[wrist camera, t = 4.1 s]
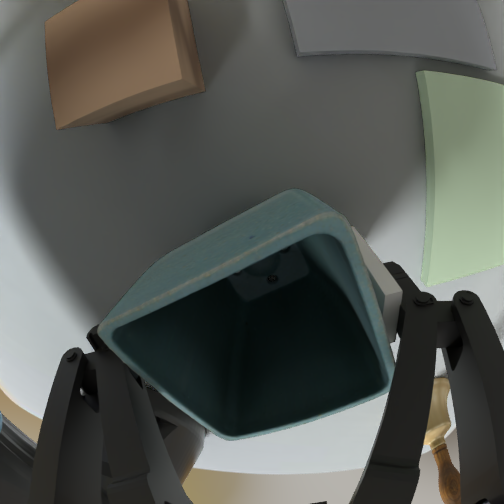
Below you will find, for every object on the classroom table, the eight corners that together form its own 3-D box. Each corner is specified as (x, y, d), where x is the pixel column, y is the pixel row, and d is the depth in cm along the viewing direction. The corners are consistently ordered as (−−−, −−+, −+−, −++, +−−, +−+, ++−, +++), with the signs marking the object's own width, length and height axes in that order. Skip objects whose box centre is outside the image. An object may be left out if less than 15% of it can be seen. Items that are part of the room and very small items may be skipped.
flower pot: (352, 280, 18) (402, 389, 10) (235, 331, 20) (226, 444, 12) (294, 156, 14) (343, 204, 6) (160, 230, 16) (90, 330, 8)
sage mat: (528, 248, 16) (534, 253, 15) (420, 279, 18) (426, 287, 17) (535, 96, 10) (543, 97, 9) (415, 71, 12) (423, 70, 11)
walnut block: (205, 91, 13) (182, 78, 9) (108, 122, 14) (56, 129, 9) (187, 1, 10) (161, -37, 6) (94, 37, 11) (44, 21, 6)
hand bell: (459, 382, 24) (503, 484, 10) (411, 421, 28) (440, 519, 13) (429, 370, 23) (481, 499, 8) (374, 415, 26) (402, 535, 12)
